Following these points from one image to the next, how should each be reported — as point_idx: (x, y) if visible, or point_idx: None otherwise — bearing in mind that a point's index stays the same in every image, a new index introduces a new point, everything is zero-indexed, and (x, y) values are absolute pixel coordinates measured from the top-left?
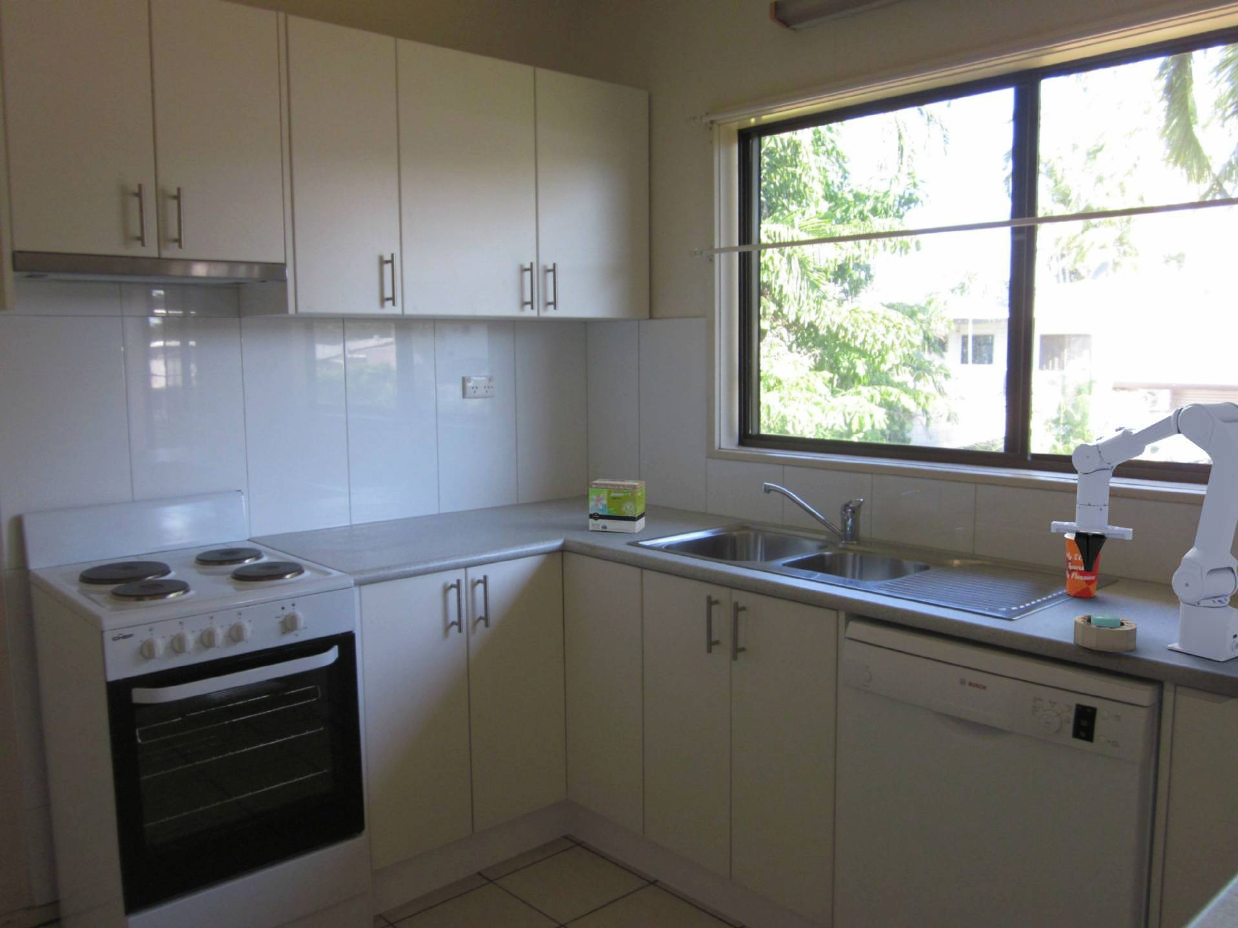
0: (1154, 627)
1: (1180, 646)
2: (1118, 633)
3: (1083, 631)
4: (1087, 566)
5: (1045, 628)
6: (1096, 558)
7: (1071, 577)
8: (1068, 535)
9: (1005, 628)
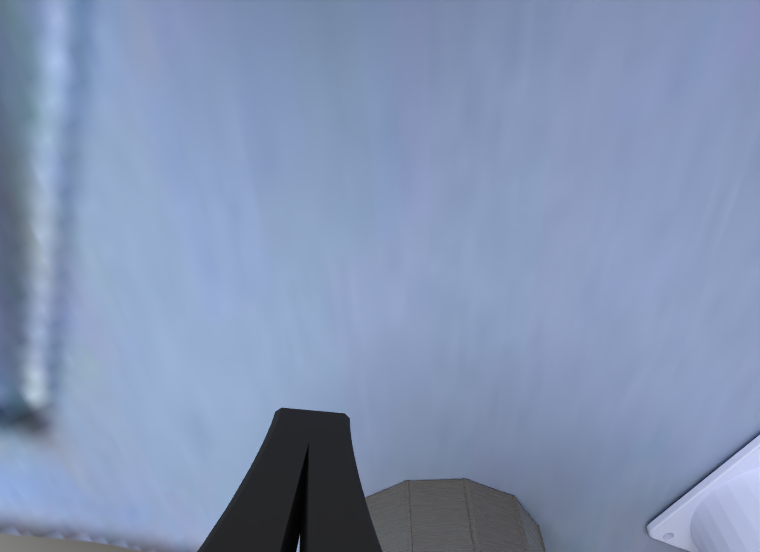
0: (681, 270)
1: (693, 539)
2: None
3: None
4: (297, 540)
5: (207, 472)
6: (368, 526)
7: None
8: None
9: (79, 523)
